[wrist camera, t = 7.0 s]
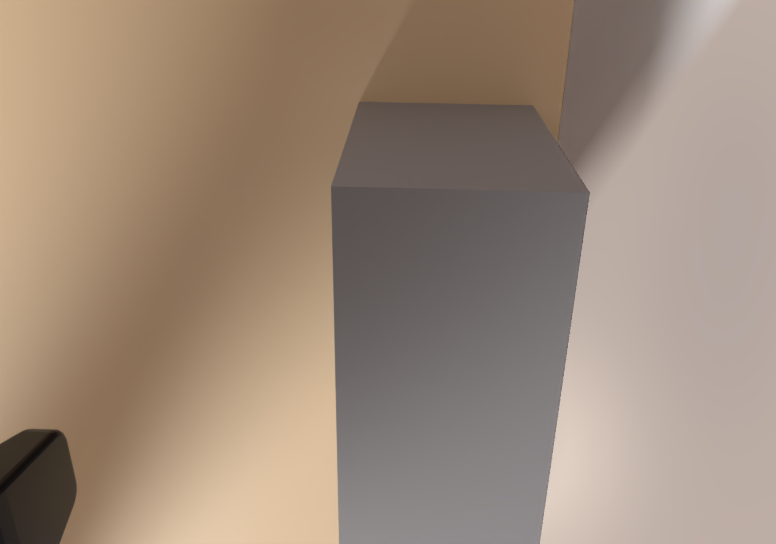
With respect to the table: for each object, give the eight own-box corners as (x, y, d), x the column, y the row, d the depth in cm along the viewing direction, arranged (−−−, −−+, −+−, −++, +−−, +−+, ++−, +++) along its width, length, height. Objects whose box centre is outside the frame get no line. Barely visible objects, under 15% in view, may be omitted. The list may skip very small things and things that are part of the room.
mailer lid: (503, 541, 18) (535, 766, 13) (-204, 515, 18) (-423, 722, 14) (592, -236, 11) (728, -363, 6) (-552, -245, 11) (-1254, -370, 7)
